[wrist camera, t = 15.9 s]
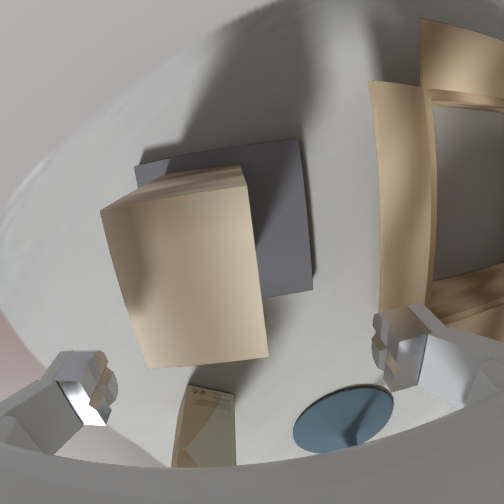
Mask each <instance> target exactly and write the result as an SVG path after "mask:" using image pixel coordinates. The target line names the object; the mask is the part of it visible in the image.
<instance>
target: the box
mask: <svg viewBox="0 0 504 504" xmlns="http://www.w3.org/2000/svg"><path fill="white" fill-rule="evenodd" d="M224 466H236V440H235V409H234V395H233V394H229V393H224V392H220V391H215V390H210V389H206V388H201V387H196V386H192V385H188V386H187V387H186V390H185V393H184V397H183V400H182V403H181V407H180V410H179V414H178V419H177V425H176V433H175V440H174V447H173V454H172V463H171V468H201V467H224Z"/></svg>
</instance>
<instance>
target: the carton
mask: <svg viewBox="0 0 504 504" xmlns="http://www.w3.org/2000/svg"><path fill="white" fill-rule="evenodd" d="M419 21H420V80H419V86H413V85H406V84H399V83H392V82H383V81H374V80H372V81H368V83H369V90H370V97H371V104H372V112H373V120H374V129H375V138H376V148H377V160H378V174H379V192H380V219H381V271H380V299H379V313H381V312H385V311H389V310H393V309H397V308H401V307H404V306H407V305H410V304H414V303H417V302H420V303H423V304H424V305H425V306H426V307H427V308H428V309H429V310H430V311H431V312H432V313H433V314H434V315H435V316H436V317H437V318H438V319H439V320H440V321H441V322H442V323H443V324H444V325H445V326H446V327H447V328H449V327H454V328H457V329H460V330H464V331H467V332H470V333H474V334H477V335H480V336H483V337H487V338H490V339H493V340H497V341H500V342H503V343H504V263H501V264H497V265H494V266H490V267H487V268H483V269H480V270H476V271H472V272H469V273H465V274H461V275H458V276H454V277H450V278H446V279H442V280H438V281H434V282H433V273H434V262H435V248H436V229H437V165H436V146H435V133H434V122H433V113H432V106H444V107H456V108H466V109H476V110H484V111H491V112H498V113H504V41H501V40H499V39H496V38H493V37H490V36H487V35H484V34H481V33H478V32H474V31H471V30H468V29H464V28H461V27H457V26H453V25H449V24H445V23H441V22H437V21H432V20H427V19H422V18H419Z"/></svg>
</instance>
